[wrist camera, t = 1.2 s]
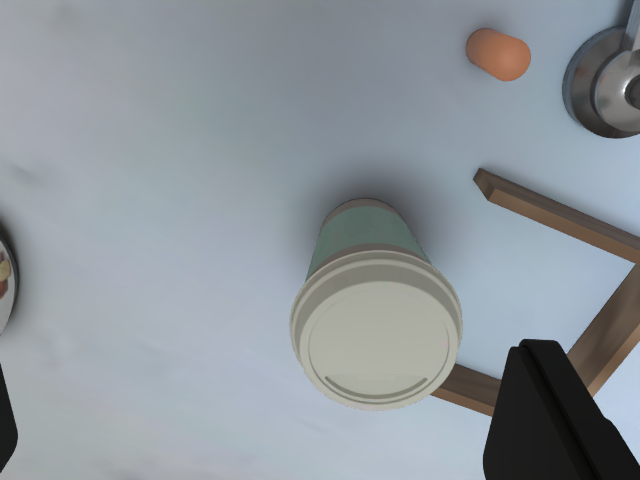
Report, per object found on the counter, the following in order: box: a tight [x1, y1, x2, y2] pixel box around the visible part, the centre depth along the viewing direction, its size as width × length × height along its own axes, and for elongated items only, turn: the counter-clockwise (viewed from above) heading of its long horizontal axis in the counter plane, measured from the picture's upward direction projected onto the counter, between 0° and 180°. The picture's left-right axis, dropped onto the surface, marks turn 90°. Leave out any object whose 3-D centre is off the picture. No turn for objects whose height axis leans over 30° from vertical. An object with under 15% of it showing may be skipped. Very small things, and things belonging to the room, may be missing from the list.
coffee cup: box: [290, 199, 463, 411], centre depth 32 cm, size 8×9×12 cm
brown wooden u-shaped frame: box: [429, 168, 640, 417], centre depth 37 cm, size 15×14×4 cm
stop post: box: [466, 28, 531, 81], centre depth 29 cm, size 2×2×5 cm
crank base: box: [562, 25, 640, 139], centre depth 32 cm, size 6×6×2 cm
